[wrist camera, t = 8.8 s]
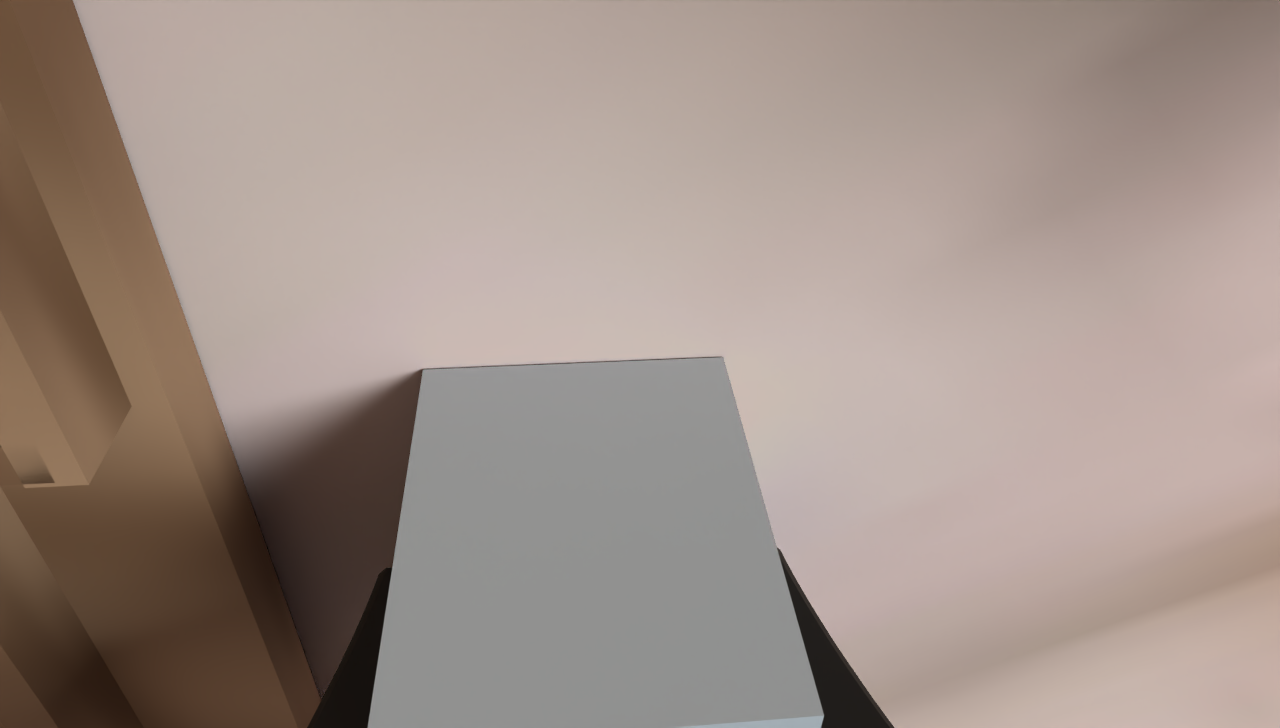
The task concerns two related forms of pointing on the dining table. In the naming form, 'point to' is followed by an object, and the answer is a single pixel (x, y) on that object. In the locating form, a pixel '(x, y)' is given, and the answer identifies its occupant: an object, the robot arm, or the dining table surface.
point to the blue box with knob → (587, 558)
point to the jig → (114, 441)
